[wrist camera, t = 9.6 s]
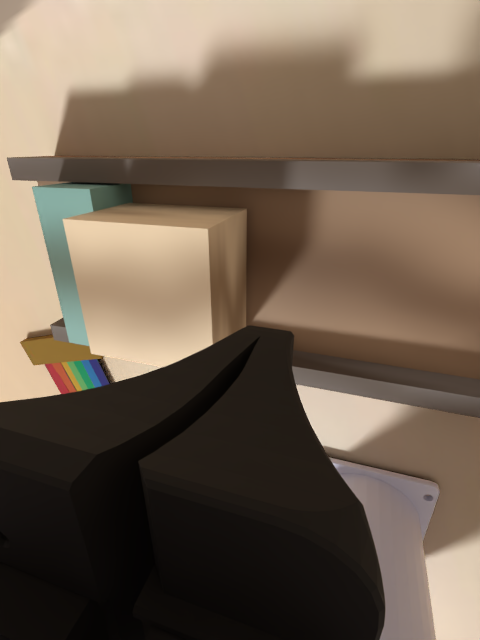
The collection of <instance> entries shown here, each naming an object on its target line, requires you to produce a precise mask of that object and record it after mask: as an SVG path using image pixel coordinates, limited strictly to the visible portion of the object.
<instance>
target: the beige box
mask: <svg viewBox="0 0 480 640" xmlns="http://www.w3.org/2000/svg"><path fill="white" fill-rule="evenodd" d="M63 224H64V228H65V233H66V238H67V243H68V247H69V252H70V257H71V261H72V266H73V271H74V276H75V280H76V285H77V290H78V294H79V299H80V304H81V308H82V313H83V318H84V323H85V327H86V332H87V337H88V341H89V346H90V351H91V354H95V355H101V356H106V357H111V358H116V359H122V360H127V361H132V362H138V363H143V364H148V365H153V366H159V367H165V366H168V365H170V364H173V363H175V362H177V361H180V360H182V359H184V358H186V357H188V356H190V355H192V354H194V353H197V352H199V351H201V350H203V349H205V348H207V347H209V346H211V345H212V344H214V343H216V342H218V341H220V340H222V339H224V338H226V337H227V336H229V335H231V334H233V333H235V332H236V331H238V330H240V329H242V328H244V327H246V262H247V209H246V208H226V207H205V206H185V205H165V204H145V203H126V204H122V205H118V206H114V207H110V208H106V209H102V210H98V211H93V212H89V213H85V214H81V215H77V216H73V217H69V218H65V219H63Z"/></svg>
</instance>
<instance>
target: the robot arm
mask: <svg viewBox="0 0 480 640" xmlns="http://www.w3.org/2000/svg"><path fill="white" fill-rule="evenodd" d="M293 347H294V334H293V333H292V332H291V331H286V330H279V329H272V328H265V327H258V326H252V325H249V326H246V327H244V328H242V329H240V330H238V331H236V332H235V333H233V334H231V335H229V336H227V337H226V338H224V339H222V340H220V341H218V342H216V343H214V344H212V345H211V346H209V347H207V348H205V349H203V350H201V351H199V352H197V353H194V354H192V355H190V356H188V357H186V358H184V359H182V360H180V361H177V362H175V363H173V364H170V365H168V366H165V367H163V368H160V369H157V370H154V371H152V372H149V373H146V374H143V375H140V376H137V377H133V378H130V379H126V380H122V381H119V382H115V383H111V384H108V385H104V386H100V387H96V388H91V389H86V390H82V391H77V392H71V393H66V394H60V395H54V396H48V397H41V398H33V399H25V400H17V401H8V402H0V640H436V636H435V629H434V622H433V614H432V607H431V599H430V592H429V585H428V577H427V570H426V562H425V555H424V548H423V540H424V537H425V534H426V531H427V528H428V525H429V522H430V520H431V517H432V514H433V511H434V508H435V505H436V502H437V500H438V497H439V494H440V491H439V486H438V485H437V484H436V483H435V482H432V481H429V480H424V479H420V478H416V477H411V476H407V475H403V474H399V473H394V472H390V471H386V470H381V469H377V468H373V467H369V466H364V465H360V464H356V463H351V462H347V461H343V460H339V459H334V458H330V457H328V455H327V454H326V452H325V450H324V449H323V447H322V445H321V443H320V441H319V439H318V438H317V436H316V434H315V432H314V430H313V428H312V427H311V424H310V422H309V420H308V418H307V415H306V413H305V411H304V408H303V406H302V403H301V400H300V397H299V394H298V391H297V388H296V384H295V380H294V375H293V370H292V360H293ZM427 495H429V496H427Z"/></svg>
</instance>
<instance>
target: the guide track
mask: <svg viewBox="0 0 480 640" xmlns="http://www.w3.org/2000/svg"><path fill="white" fill-rule="evenodd" d="M7 161H8V165H9V168H10V172H11V176H12V180H28V181H37V182H38V186H35V187H32V189H33V193H34V197H35V201H36V205H37V210H38V214H39V218H40V222H41V226H42V230H43V235H44V239H45V243H46V247H47V251H48V255H49V260H50V264H51V268H52V272H53V276H54V281H55V285H56V289H57V293H58V297H59V301H60V306H61V310H62V314H63V318H62V319H60V320H58V321H57V322H55V323H53V324H51V325H50V326H51V330H52V334H53V338H54V340H57V341H63V342H68V343H74V344H79V345H84V346H89V341H88V337H87V332H86V327H85V323H84V318H83V313H82V308H81V304H80V299H79V294H78V290H77V285H76V280H75V276H74V271H73V266H72V261H71V257H70V252H69V247H68V243H67V238H66V233H65V228H64V224H63V219H65V218H69V217H73V216H77V215H81V214H85V213H89V212H93V211H98V210H102V209H106V208H110V207H114V206H118V205H122V204H126V203H145V204H165V205H185V206H205V207H226V208H246V209H247V262H246V326H249V325H252V326H258V327H265V328H272V329H279V330H286V331H291V332H292V333H293V334H294V347H293V360H292V370H293V375H294V380H295V384H297V385H303V386H308V387H314V388H319V389H325V390H330V391H336V392H341V393H347V394H352V395H357V396H363V397H368V398H374V399H379V400H385V401H390V402H396V403H401V404H407V405H412V406H418V407H423V408H428V409H434V410H439V411H445V412H450V413H456V414H461V415H467V416H472V417H478V418H480V160H452V159H337V158H222V157H107V156H41V157H13V158H7Z"/></svg>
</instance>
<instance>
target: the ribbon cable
mask: <svg viewBox="0 0 480 640" xmlns="http://www.w3.org/2000/svg"><path fill="white" fill-rule="evenodd" d="M20 343H21V345H22V347H23V348H24V350H25V352H26V353H27V355H28V357H29V358H30V360H31V362H32V363H33V365H41V364H45V366H46V368H47V369H48V371H49V373H50V375H51V377H52V378H53V380H54V382H55V384H56V385H57V387H58V389H59V391H60V392H61V394H66V393H71V392H77V391H82V390H86V389H91V388H96V387H100V386H104V385H108V384H110V383H109V381H108V379H107V377H106V375H105V373H104V371H103V369H102V367H101V365H100V363H99V361H98V359H102V358H103V357H104V356H101V355H95V354H91V351H90V346H84V345H79V344H74V343H68V342H63V341H57V340H54V338H53V335H46V336H40V337H33V338H27V339H25V340H23V341H21V342H20Z"/></svg>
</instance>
